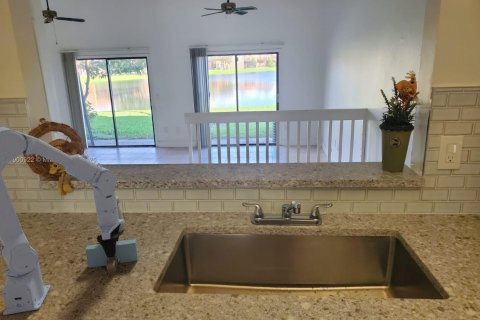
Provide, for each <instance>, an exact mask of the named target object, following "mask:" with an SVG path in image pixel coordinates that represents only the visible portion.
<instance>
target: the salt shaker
mask: <svg viewBox="0 0 480 320" xmlns="http://www.w3.org/2000/svg"><path fill="white" fill-rule="evenodd" d="M116 201H117V209H118V216H119V219H123V224H121V225H120V228H119V233H123V231H124V229H125V225H126V221H125V219H124V216H123V213H122V209H121V207H120V202H121V198H120V196H117V195H116Z"/></svg>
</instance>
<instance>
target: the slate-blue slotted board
mask: <svg viewBox="0 0 480 320" xmlns="http://www.w3.org/2000/svg"><path fill="white" fill-rule="evenodd" d="M138 252H139V251H138V244H137V238H133V239H125V240H118V242H116V253H115V256H116V259H119V260H118V262H119V264H123V263H131V262H137V261H139V253H138ZM85 253H86V254H85V256H86V260H87V267H88V269H89V268H97V267H103V266H107V263H108V259H109V258H107V256H106V254H105V251H104V249H103V247H102V246H101V244H100V243H97V244H90V245H86V247H85Z"/></svg>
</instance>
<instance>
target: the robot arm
mask: <svg viewBox="0 0 480 320" xmlns="http://www.w3.org/2000/svg"><path fill="white" fill-rule="evenodd" d="M21 154H24V156H29V155H31V156H32V155H38V156H40V157H43V158H45V159H47V160H49V161H51V162H54V163H57V164H58V165H61V166H63V168H64V171H65V173H66V174H68V175H70V176H71V177H74V178H76V179H78V180H80V181H82V182H85V183H87V184H89V185H90V186H92V190H93V197H94V204H95V205H94V206H95V211H96V216H97V217H96V218H97V228H98V229H99V231H100V233H101V234H98V235H97V236H96V241H97V242H98V244H101V246H102V247H103V249H104V251H105V254H106V256H107V258H110V257H115V253H116V242H118V241H119V236H120V234H119V233H120V232H119V228H120V225H121V224H123V219H119V216H118V209H117V201H116V196H117V195H116V190H115V189H116V187H115V186H116V185H117V184H118V177H117V176H116V174H115V173H114V172H113V170H110V169H108V168H105V167H103V166H104V165H103V164H101V162H100V163H99V162H98V163H96V162H94V161H92V160H90V159H89V156H88V155H86V154H84V153H82V154H79V153H76V154H72V155H70V154H67V153H66V152H63V151H62V150H60V149H58V148H56V147H54V146H53V145H51V144H49V143H48V142H45V141H44V140H42V139H40V138H37V137H35V136H33V135H29V134H26V133H24V132H20V131H17V130H14V129H11V128H10V127H9V126H3V125H0V243H1V248H0V256H1V257H2V258H3V261H5V262H6V263H5V264H6V266H5V269H4V274H5V280H6V281H5V285H4V286H3V289H2V296H3V300H4V301H3V302H4V304H5V309H4V311H3V312H2V314H3V316H6V315H11V314H19V313H23V312H24V313H25V312H30V311H34V310H35V311H36V310H39V309H41V306H42V305H43V303H44V301H45V298H46V296H47V295H48V293H49V290H50V289H51V285H50V284H47V285H44V281H43V276H42V270H41V267H40V262H39V261H40V257H39V256H40V255H39V252H37V251H36V250H35V249H34V248H33V247H32V246H31V245H30V242H29V240H28V238H27V236H26V235H25V233H24V231H23V227H22V225H21V222H20V219H19V217H18V215H17V212H16V210H15V209H16V208H15V207H14V204H13V201H12V198H11V196H10V194H9V191H8V188H7V185H6V183H5V180H4V178H3V175H2V172H3V170H4V169H6V167H7V165H8V164H9V163H11V161H13V160H15V159H16V158H17V157H19V156H20V155H21Z"/></svg>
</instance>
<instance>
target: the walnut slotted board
mask: <svg viewBox="0 0 480 320" xmlns="http://www.w3.org/2000/svg"><path fill="white" fill-rule="evenodd" d="M118 264H119V259H116V256H115V257H110V258H109V259H108V263H107V265H106V270H107V271H106V272H107V276H113V275H117V274H116V273H117V269H118V266H119V265H118Z"/></svg>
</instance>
